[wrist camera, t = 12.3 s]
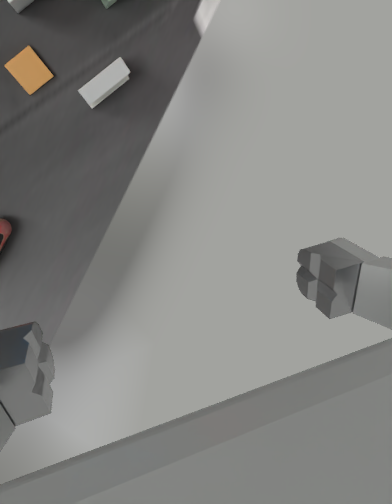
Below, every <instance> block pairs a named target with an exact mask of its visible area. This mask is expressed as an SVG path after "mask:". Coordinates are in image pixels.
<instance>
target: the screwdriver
mask: <svg viewBox="0 0 392 504" xmlns="http://www.w3.org/2000/svg"><path fill="white" fill-rule="evenodd" d="M11 230H12V228H11V225H10V223H9V222H8V221H7V220H5V219H1V218H0V254H1V252H2V250H3V248H4V246H5V244H6V242H7V240H8V238H9V236H10V234H11Z"/></svg>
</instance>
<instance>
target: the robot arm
mask: <svg viewBox="0 0 392 504" xmlns="http://www.w3.org/2000/svg"><path fill="white" fill-rule="evenodd" d="M298 262H299V264H300V265H301V267H300V268H299V270H298V272H297V284H298V287H299V290H300V291H301V293H302V294H303V295H304V296H305V297H306V298H307V299H310V300H313V301H316V307H317V308H318V309H319V310H320V311H321V312H322V313H323V314H325V315H326V316H327V317H328V318H329V319H331V318H335V317H338V316H341V315H344V314H348V313H351V312H353V314H356V315H358V316H361V317H363V318H365V319H368V320H370V321H373V322H375V323H377V324H380V325H382V326H385V327H387V328H390V329H392V258H389V257H380V258H379V257H377V256H376V255H374V254H372V253H370V252H368V251H366V250H365V249H363V248H361V247H359V246H357V245H356V244H354V243H352V242H350V241H348V240H347V239H345V238H337V239H334V240H331V241H328V242H325V243H322V244H318V245H315V246H312V247H308V248H305V249H301V250H300V251H299V253H298ZM42 335H43V332H42V330H41V328H40V326H39V324H38V323H37V322H31V323H27V324H23V325H19V326H15V327H11V328H7V329H3V330H0V451H1V450H2V448H3V447H4V445H5V444H6V442H7V440H8V439H9V437H10V436H11V435H12V433H13V431H14V430H15V426H18V425H20V424H23V423H26V422H29V421H31V420H34V419H36V418H39V417H42V416H45V415H48V414H50V413H51V408H52V397H53V391H52V389H51V387H50V383H51V382H52V380H53V379H54V372H55V368H54V360H53V356H52V353H51V350H50V348H49V345H48V344H46V343H44V342H42ZM0 504H392V338H391V339H388V340H385V341H383V342H380V343H377V344H375V345H372V346H369V347H367V348H364V349H361V350H359V351H356V352H353V353H350V354H348V355H345V356H343V357H340V358H337V359H334V360H332V361H329V362H326V363H324V364H321V365H318V366H316V367H313V368H310V369H307V370H305V371H302V372H299V373H297V374H294V375H291V376H289V377H286V378H283V379H281V380H278V381H275V382H273V383H270V384H267V385H265V386H262V387H259V388H257V389H254V390H251V391H249V392H246V393H244V394H241V395H238V396H235V397H233V398H230V399H227V400H225V401H222V402H219V403H217V404H214V405H211V406H209V407H206V408H203V409H201V410H198V411H196V412H193V413H190V414H188V415H185V416H182V417H180V418H177V419H174V420H171V421H169V422H166V423H163V424H161V425H158V426H156V427H153V428H150V429H147V430H145V431H142V432H139V433H137V434H134V435H132V436H129V437H126V438H123V439H120V440H118V441H115V442H112V443H110V444H107V445H104V446H102V447H99V448H97V449H94V450H91V451H88V452H86V453H83V454H80V455H78V456H75V457H72V458H70V459H67V460H64V461H62V462H59V463H56V464H54V465H51V466H48V467H46V468H43V469H40V470H38V471H35V472H33V473H30V474H27V475H24V476H22V477H19V478H16V479H14V480H11V481H8V482H6V483H3V484H0Z"/></svg>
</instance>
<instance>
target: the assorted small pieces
mask: <svg viewBox="0 0 392 504" xmlns="http://www.w3.org/2000/svg"><path fill="white" fill-rule="evenodd" d="M7 1H8V2H9V3H10V5H11V6H12V7H13V8H14V10H15V11H16V12H17V13H20V12H21V11H22V10H23V9H25V8H26V7H27V6H28V5H29V4H31V3H32V2H33V1H34V0H7ZM101 1H102V3H103V5H104V6H105V8H106V9H107V8H109V7H110V6H111V5H112V4H113V3H115V2H116V1H117V0H101ZM4 66H5V67H6V68H7V70H8V71H9V72H10V73H11V74H12V75H13V76H14V78H15V79H16V80H17V81H18V82H19V83H20V84H21V86H22V87H23V88H24V89H25V90H26V91H27V92H28V94H29V95H31V94H33V93H34V92H35V91H36V90H37V89H39V88H40V87H41V86H42V85H44V84H45V83H46V82H47V81H49V80H50V79H51V78H52V77H54V76H53V74H52V73H51V72H50V71H49V70H48V68H47V67H46V66H45V65H44V63H43V62H42V61H41V60H40V58H39V57H38V56H37V55H36V53H35V52H34V51H33V50H32V48H31V47H30V46H27V47H26V48H25V49H24V50H22V51H21V52H20V53H19V54H18V55H16V56H15V57H14V58H13V59H11V60H10V61H9V62H8V63H6V64H5V65H4ZM129 73H130V70H129V69H128V67H127V66H126V64H125V63H124V61H123V60H122V58H121V57H119V58H118V59H117V60H115V61H114V62H113V63H112V64H110V65H109V66H108V67H107V68H105V69H104V70H103V71H102V72H100V73H99V74H98V75H97V76H95V77H94V78H93V79H92V80H90V81H89V82H88V83H87V84H86V85H84V86H83V87H82V88H81V89H79V90H78V91H79V93H80V94H81V95H82V97H83V98H84V99H85V100H86V102H87V103H88V104H89V105H90V107H91V108H94V107H95V106H96V105H97V104H99V103H100V102H101V101H102V100H104V99H105V98H106V97H107V96H109V95H110V94H111V93H112V92H114V91H115V90H116V89H117V88H119V87H120V86H121V85H122V84H124V83H125V82H126V81H127V80H129V79H130V78H129V77H128V74H129Z"/></svg>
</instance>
